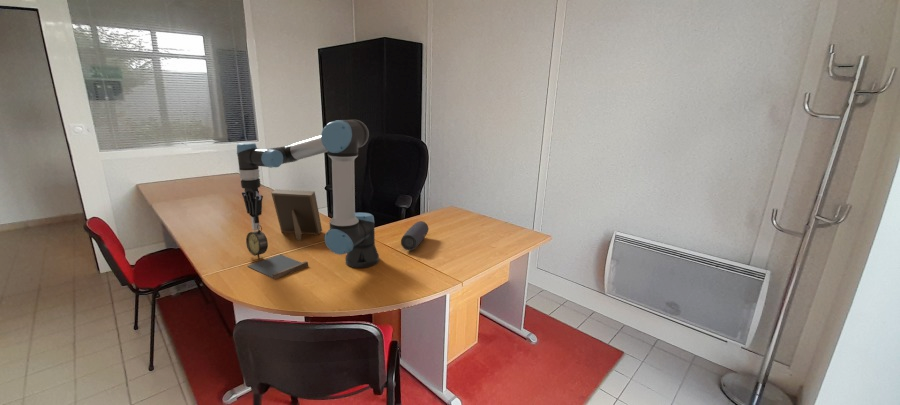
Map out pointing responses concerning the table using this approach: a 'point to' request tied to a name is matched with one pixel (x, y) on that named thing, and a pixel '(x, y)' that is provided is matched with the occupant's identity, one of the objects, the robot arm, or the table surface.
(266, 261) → the mat
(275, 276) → the stop strip
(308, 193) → the photo frame
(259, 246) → the alarm clock
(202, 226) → the table surface
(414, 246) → the bluetooth speaker
